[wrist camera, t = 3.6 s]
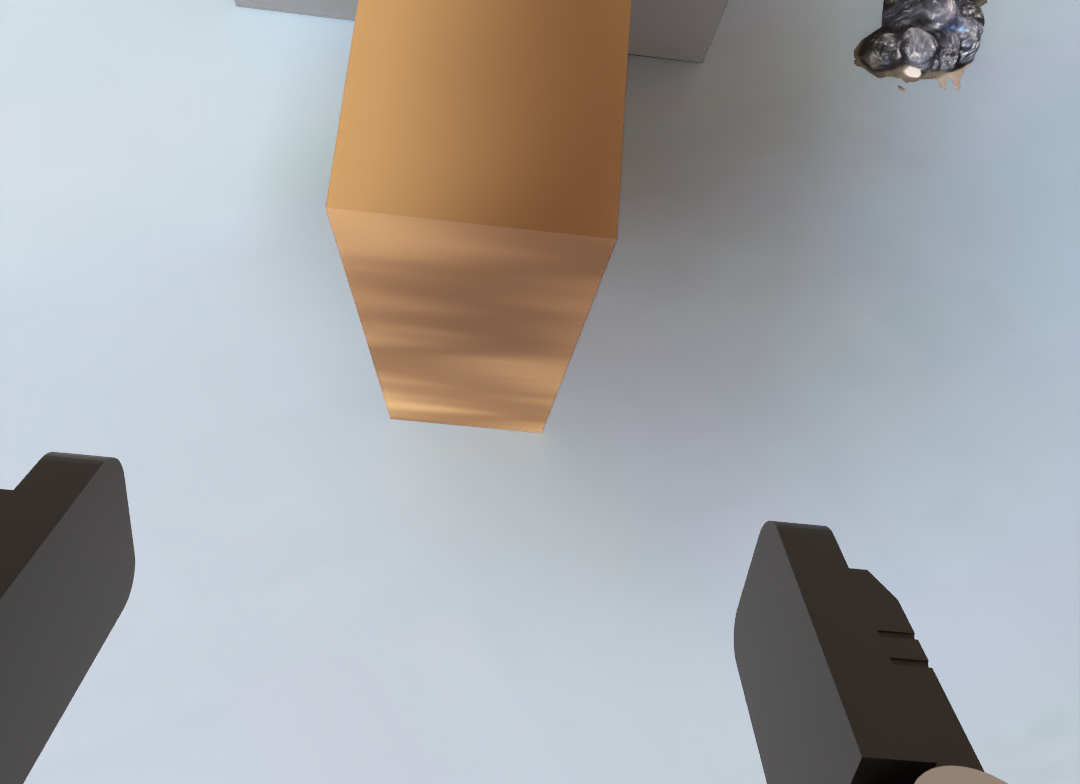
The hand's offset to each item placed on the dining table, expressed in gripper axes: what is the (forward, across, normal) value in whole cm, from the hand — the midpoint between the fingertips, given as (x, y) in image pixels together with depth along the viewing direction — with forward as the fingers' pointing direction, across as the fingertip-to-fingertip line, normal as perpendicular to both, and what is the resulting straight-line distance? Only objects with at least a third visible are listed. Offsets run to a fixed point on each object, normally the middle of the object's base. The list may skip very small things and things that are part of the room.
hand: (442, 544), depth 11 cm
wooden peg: (+13, 0, +4) cm, 13 cm away
